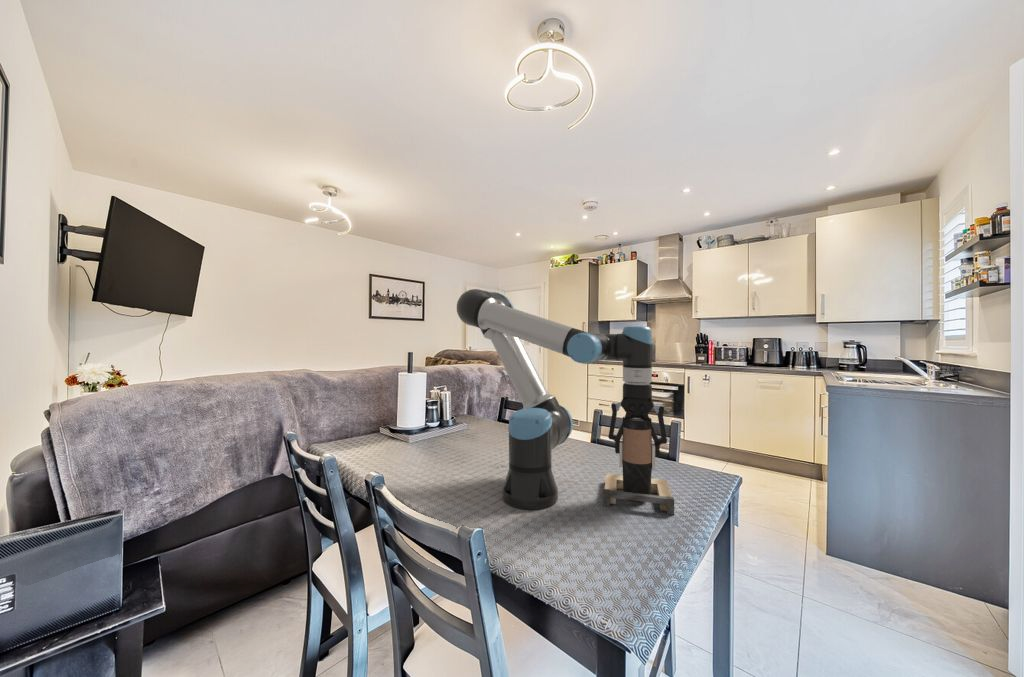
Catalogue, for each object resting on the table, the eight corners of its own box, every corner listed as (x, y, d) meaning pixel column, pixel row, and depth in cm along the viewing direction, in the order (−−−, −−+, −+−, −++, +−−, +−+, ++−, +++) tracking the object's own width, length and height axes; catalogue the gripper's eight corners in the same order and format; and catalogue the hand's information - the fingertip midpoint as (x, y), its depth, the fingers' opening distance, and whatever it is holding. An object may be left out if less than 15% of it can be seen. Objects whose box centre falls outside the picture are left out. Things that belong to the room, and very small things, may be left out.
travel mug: (654, 498, 97) (654, 421, 97) (623, 495, 98) (623, 420, 98) (649, 486, 104) (649, 415, 104) (621, 484, 106) (621, 414, 106)
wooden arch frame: (603, 505, 97) (603, 491, 97) (606, 481, 113) (606, 469, 113) (674, 514, 92) (674, 499, 92) (667, 488, 108) (667, 475, 108)
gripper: (597, 383, 101) (597, 467, 101) (680, 386, 95) (679, 475, 95) (599, 380, 108) (599, 458, 108) (676, 382, 102) (675, 466, 102)
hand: (636, 466), depth 101 cm, fingers closed on travel mug, 8 cm apart
